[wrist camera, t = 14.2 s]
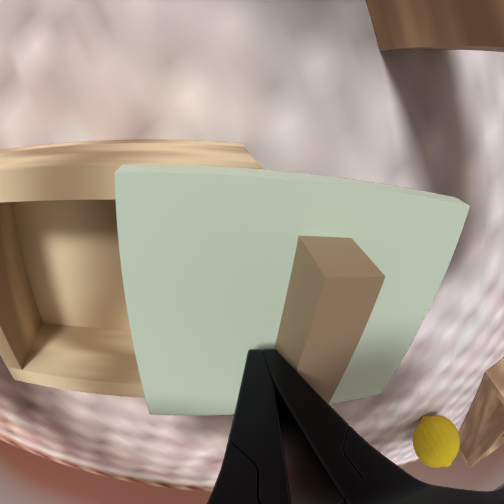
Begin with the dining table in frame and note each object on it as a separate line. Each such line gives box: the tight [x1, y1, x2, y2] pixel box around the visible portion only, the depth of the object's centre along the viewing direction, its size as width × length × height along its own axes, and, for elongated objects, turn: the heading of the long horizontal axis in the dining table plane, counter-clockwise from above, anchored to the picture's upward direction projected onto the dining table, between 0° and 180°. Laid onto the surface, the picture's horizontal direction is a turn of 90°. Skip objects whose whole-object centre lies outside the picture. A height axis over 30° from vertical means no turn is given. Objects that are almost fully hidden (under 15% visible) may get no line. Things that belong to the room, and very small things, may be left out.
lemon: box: [413, 416, 460, 468], centre depth 26 cm, size 6×6×8 cm
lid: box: [115, 165, 470, 415], centre depth 9 cm, size 11×10×3 cm
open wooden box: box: [0, 140, 262, 398], centre depth 11 cm, size 11×10×4 cm
